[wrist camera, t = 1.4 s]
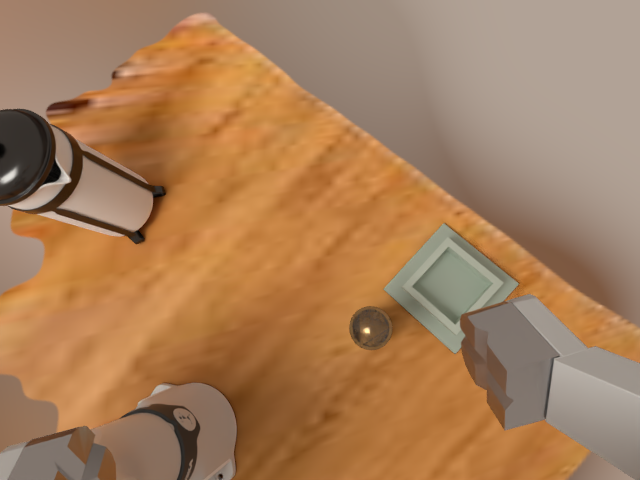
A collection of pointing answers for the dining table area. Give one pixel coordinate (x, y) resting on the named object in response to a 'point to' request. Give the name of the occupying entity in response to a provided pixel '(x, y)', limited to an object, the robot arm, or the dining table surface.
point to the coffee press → (69, 179)
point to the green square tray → (448, 285)
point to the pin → (370, 328)
